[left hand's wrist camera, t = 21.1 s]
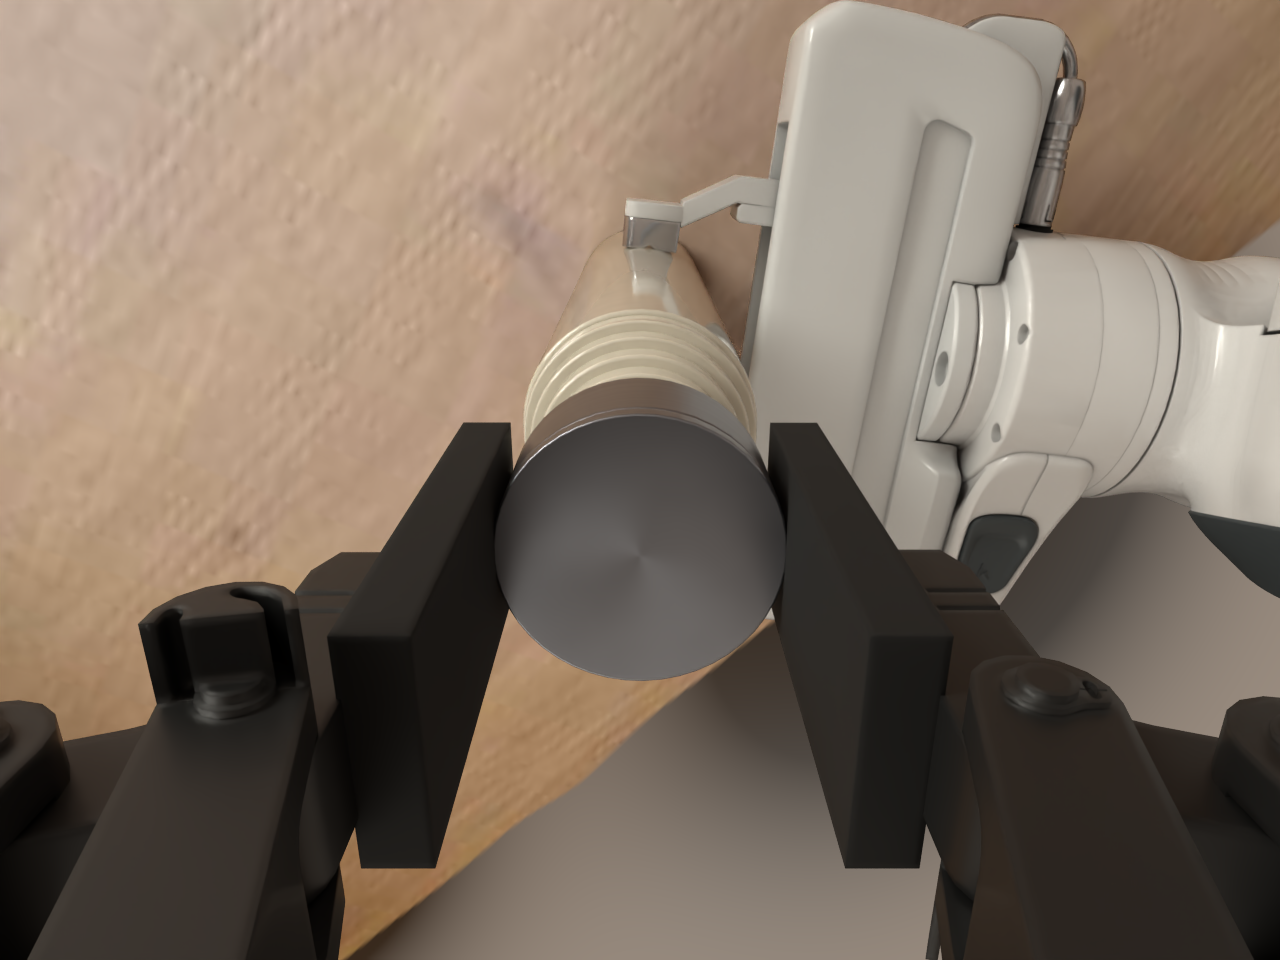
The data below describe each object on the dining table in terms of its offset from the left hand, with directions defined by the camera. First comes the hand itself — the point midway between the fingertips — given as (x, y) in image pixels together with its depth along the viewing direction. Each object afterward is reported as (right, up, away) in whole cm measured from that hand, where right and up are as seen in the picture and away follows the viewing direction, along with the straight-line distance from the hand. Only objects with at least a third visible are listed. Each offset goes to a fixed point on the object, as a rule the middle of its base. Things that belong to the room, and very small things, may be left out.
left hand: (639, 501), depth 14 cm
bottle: (0, +8, +21) cm, 23 cm away
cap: (0, -1, -2) cm, 2 cm away
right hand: (-1, +6, +15) cm, 16 cm away
